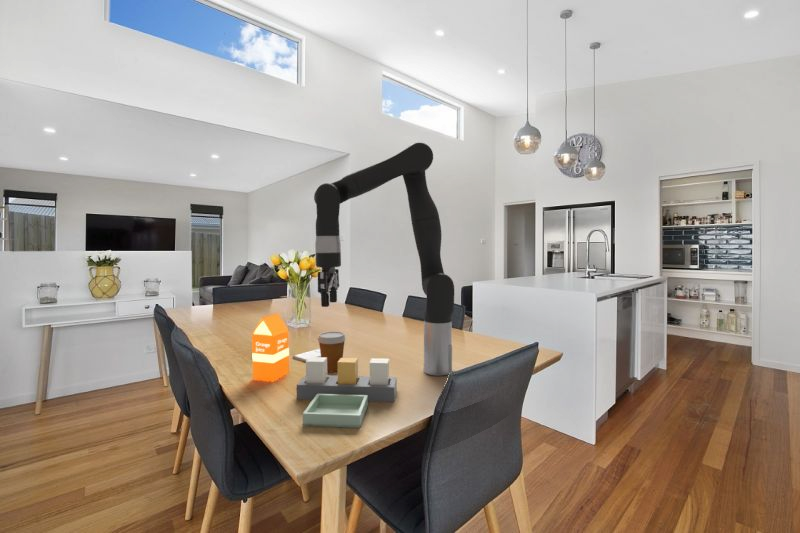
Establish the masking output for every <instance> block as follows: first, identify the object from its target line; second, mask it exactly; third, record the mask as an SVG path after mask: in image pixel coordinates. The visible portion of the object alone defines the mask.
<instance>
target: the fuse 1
mask: <svg viewBox="0 0 800 533" xmlns="http://www.w3.org/2000/svg"><path fill="white" fill-rule="evenodd" d="M305 375H306V383H324V384H325V383H326V381H327V375H328V372H327V357H310V358H309V359H308V360H307V361H306V362H305Z"/></svg>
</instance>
